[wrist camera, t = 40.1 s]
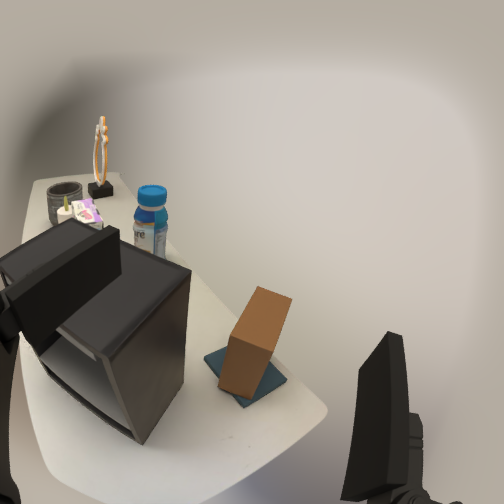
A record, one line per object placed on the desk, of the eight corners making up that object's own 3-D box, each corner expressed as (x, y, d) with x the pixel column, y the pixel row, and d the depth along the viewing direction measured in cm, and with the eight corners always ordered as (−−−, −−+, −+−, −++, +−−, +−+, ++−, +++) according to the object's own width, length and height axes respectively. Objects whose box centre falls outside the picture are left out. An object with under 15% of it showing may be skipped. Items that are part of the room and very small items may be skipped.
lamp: (116, 199, 95) (120, 117, 79) (95, 203, 89) (97, 118, 73) (104, 185, 104) (108, 113, 88) (86, 189, 98) (88, 115, 82)
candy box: (109, 285, 57) (104, 220, 48) (86, 291, 53) (77, 225, 45) (96, 254, 65) (92, 196, 56) (76, 258, 61) (70, 200, 53)
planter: (47, 236, 65) (42, 197, 59) (53, 218, 74) (50, 183, 67) (83, 233, 71) (80, 193, 65) (85, 215, 80) (83, 180, 73)
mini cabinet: (183, 382, 42) (191, 270, 29) (142, 445, 30) (108, 358, 18) (92, 329, 45) (71, 216, 33) (47, 374, 33) (-4, 260, 21)
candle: (82, 236, 69) (78, 189, 62) (79, 248, 65) (74, 198, 57) (63, 237, 67) (58, 190, 59) (59, 249, 62) (53, 199, 54)
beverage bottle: (169, 270, 67) (175, 195, 56) (136, 274, 62) (136, 197, 52) (161, 252, 72) (166, 182, 62) (131, 255, 68) (132, 183, 58)
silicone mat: (285, 382, 46) (287, 379, 45) (243, 408, 40) (244, 406, 39) (245, 340, 53) (246, 337, 53) (203, 359, 47) (204, 356, 46)
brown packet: (270, 351, 50) (292, 298, 43) (250, 400, 40) (273, 351, 33) (241, 340, 52) (257, 285, 44) (217, 386, 41) (229, 334, 34)
